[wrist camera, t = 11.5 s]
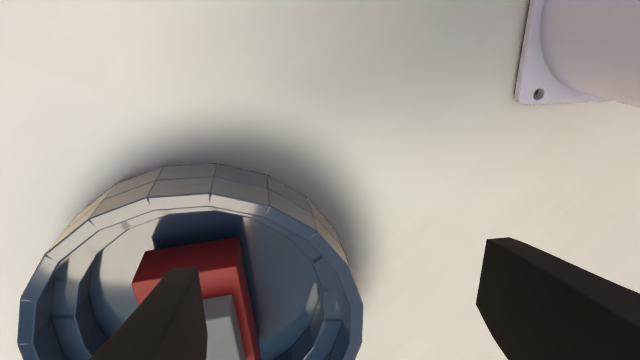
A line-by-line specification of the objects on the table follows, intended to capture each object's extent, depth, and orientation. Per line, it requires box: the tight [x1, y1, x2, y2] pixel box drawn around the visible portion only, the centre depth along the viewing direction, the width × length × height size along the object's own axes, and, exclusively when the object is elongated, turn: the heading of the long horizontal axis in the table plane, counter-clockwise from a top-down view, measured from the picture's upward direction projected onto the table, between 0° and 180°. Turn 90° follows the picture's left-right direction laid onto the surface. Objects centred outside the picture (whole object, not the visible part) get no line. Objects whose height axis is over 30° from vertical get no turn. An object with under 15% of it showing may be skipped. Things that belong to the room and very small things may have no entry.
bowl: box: [17, 163, 363, 360], centre depth 20 cm, size 14×14×4 cm
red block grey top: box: [131, 237, 261, 360], centre depth 19 cm, size 4×7×4 cm, turn 5°
